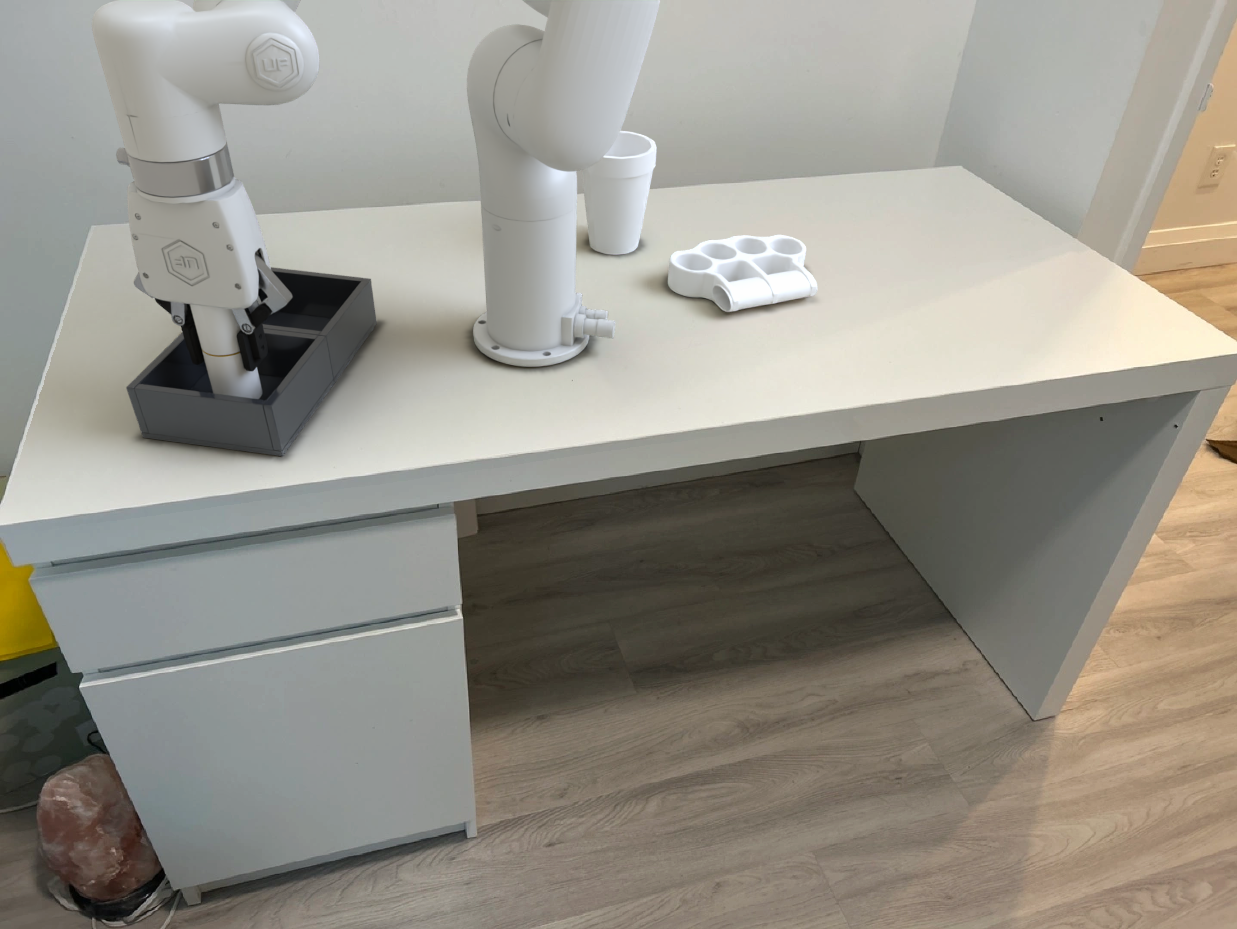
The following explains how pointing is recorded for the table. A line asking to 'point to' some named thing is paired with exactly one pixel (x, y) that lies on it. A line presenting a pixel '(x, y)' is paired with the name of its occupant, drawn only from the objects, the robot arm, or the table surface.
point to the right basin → (326, 311)
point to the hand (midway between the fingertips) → (229, 358)
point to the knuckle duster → (743, 271)
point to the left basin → (234, 397)
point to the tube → (224, 353)
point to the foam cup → (619, 193)
